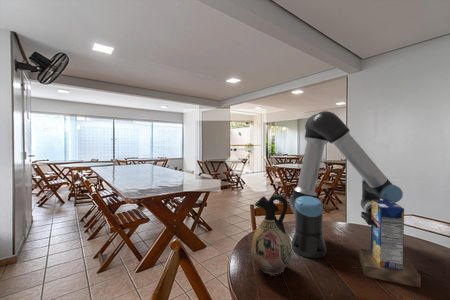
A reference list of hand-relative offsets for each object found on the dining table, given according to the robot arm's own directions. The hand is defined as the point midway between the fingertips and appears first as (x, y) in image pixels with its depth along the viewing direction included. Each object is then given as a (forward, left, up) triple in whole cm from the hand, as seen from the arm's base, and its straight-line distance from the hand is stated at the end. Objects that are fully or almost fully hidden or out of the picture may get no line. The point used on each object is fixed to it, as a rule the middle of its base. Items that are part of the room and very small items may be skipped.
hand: (391, 231), depth 77 cm
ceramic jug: (-40, -11, -18) cm, 45 cm away
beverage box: (0, +5, -14) cm, 15 cm away
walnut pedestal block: (0, +5, -17) cm, 18 cm away
